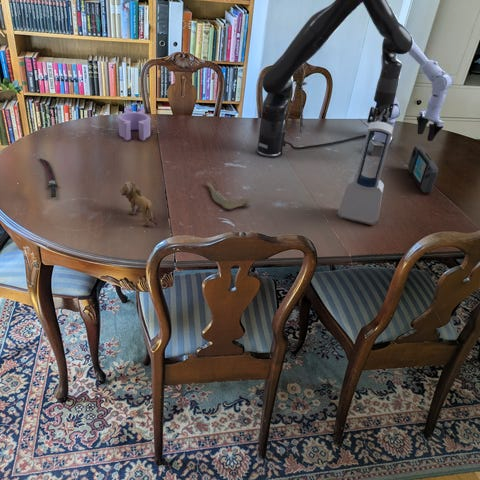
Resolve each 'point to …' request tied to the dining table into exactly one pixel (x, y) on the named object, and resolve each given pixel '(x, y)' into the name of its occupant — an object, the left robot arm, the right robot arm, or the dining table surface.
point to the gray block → (375, 148)
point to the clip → (134, 123)
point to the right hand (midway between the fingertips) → (424, 137)
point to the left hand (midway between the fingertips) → (376, 131)
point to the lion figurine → (137, 201)
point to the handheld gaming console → (423, 169)
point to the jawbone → (223, 201)
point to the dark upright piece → (298, 100)
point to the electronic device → (366, 184)
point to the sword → (52, 181)
